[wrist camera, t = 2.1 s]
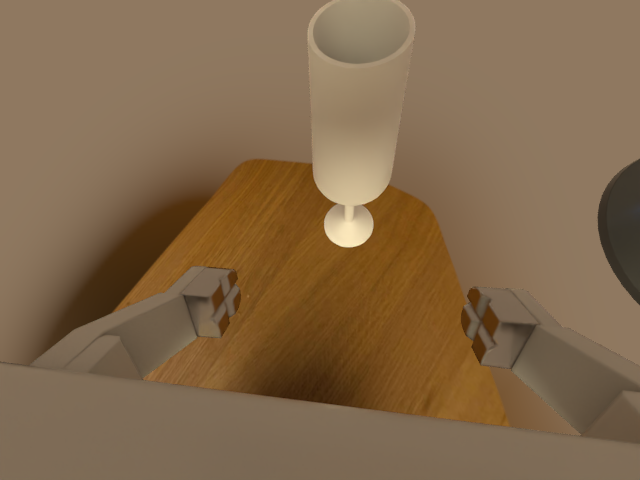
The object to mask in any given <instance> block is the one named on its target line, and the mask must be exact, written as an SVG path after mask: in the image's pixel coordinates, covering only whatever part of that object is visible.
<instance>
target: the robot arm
mask: <svg viewBox="0 0 640 480" xmlns="http://www.w3.org/2000/svg"><path fill="white" fill-rule="evenodd" d="M237 279H238V277H237V273H236V271H235V270H234V269H226V268H216V267H204V266H193V267H191V268H190V269H189V270H188V271H187V272H186V273H185V274H184V275H183V276H182V277H181V278H180V279H178V280H177V281H176V282H175V283H174V284H173V285H172V286H171V287H170V288H169V289H168V290H167V291H166V292H165V293H158V294H156V295H154V296H151V297H149V298H147V299H144V300H142V301H140V302H137V303H135V304H133V305H130V306H128V307H126V308H124V309H121V310H119V311H117V312H114V313H112V314H110V315H107V316H105V317H103V318H100V319H98V320H96V321H94V322H91V323H89V324H86V325H84V326H82V327H79V328H77V329H75V330H73V331H72V332H71V333H69V334H68V335H67V336H65V337H64V338H63V339H62V340H61V341H59V342H58V343H57V344H55V345H54V346H53V347H52V348H50V349H49V350H48V351H46V352H45V353H44V354H43V355H41V356H40V357H39V358H37V359H36V360H35V361H34V362H33V363H31V364H30V365H21V364H13V363H5V362H0V480H640V366H639V365H637V364H635V363H633V362H632V361H630V360H628V359H626V358H624V357H622V356H620V355H618V354H617V353H615V352H613V351H611V350H609V349H607V348H605V347H603V346H602V345H600V344H598V343H596V342H594V341H592V340H590V339H588V338H587V337H585V336H583V335H581V334H579V333H577V332H575V331H574V330H572V329H570V328H565V327H562V326H561V325H560V324H559V323H558V322H557V321H556V320H555V319H554V318H553V317H552V316H551V315H550V314H549V313H548V312H547V311H546V309H544V307H543V306H542V305H541V304H540V303H539V302H538V301H537V300H536V299H535V298H534V297H533V296H532V295H531V294H530V293H529V292H528V291H526V290H524V289H509V288H506V289H501V288H486V287H472V288H471V289H470V290H469V293H468V295H467V297H468V299H469V301H470V302H469V303H468V304H466V305H465V306H464V307H463V310H462V313H461V324H462V328H463V330H464V333H465V335H466V336H467V337H469V338H470V339H471V340H473V344H472V346H471V347H472V349H473V351H474V353H475V355H476V357H477V359H478V361H479V363H480V365H483V366H490V367H498V368H506V369H511V371H512V372H513V373H514V374H515V375H516V376H518V377H519V378H520V379H521V380H522V381H523V382H524V383H525V384H526V385H527V386H528V387H530V388H531V389H532V390H533V391H534V392H535V393H536V394H537V395H538V396H539V397H541V398H542V399H543V400H544V401H545V402H546V403H547V404H548V405H549V406H551V407H552V408H553V409H554V410H555V411H556V412H557V413H558V414H559V415H560V416H561V417H563V418H564V419H565V420H566V421H567V422H568V423H569V424H570V425H571V426H572V427H574V428H575V429H576V430H577V431H578V432H579V433H580V434H581V436H576V435H568V434H561V433H560V434H559V433H553V432H545V431H537V430H529V429H521V428H513V427H506V426H498V425H490V424H482V423H474V422H466V421H459V420H451V419H443V418H435V417H427V416H419V415H411V414H403V413H395V412H387V411H380V410H372V409H364V408H356V407H349V406H341V405H333V404H325V403H318V402H310V401H302V400H294V399H287V398H279V397H271V396H263V395H255V394H248V393H240V392H232V391H224V390H216V389H209V388H201V387H193V386H185V385H177V384H170V383H162V382H154V381H146V380H143V378H144V377H145V376H147V375H148V374H149V373H151V372H152V371H153V370H155V369H156V368H157V367H159V366H160V365H161V364H163V363H164V362H165V361H167V360H168V359H169V358H171V357H172V356H173V355H175V354H176V353H178V352H179V351H180V350H182V349H183V348H184V347H186V346H187V345H188V344H190V343H191V342H192V341H194V340H195V339H196V338H197V336H198V337H211V338H221V337H222V336H223V334H224V332H225V331H226V329H227V327H228V326H229V324H230V322H229V317H231V316H233V315H234V314H235V313H236V312H237V310H238V308H239V304H240V301H241V293H240V288H239V287H238V286H237V285H236V284H235V282H236V281H237Z"/></svg>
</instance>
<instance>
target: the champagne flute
mask: <svg viewBox="0 0 640 480" xmlns="http://www.w3.org/2000/svg"><path fill="white" fill-rule="evenodd" d="M415 29H416V25H415V19H414V17H413V15H412V13H411V11H410V10H409V9H408V8H407V7H406V6H405V5H404V4H403V3H401V2H400V1H399V0H332V1H330V2H329V3H327V4H325V5H324V6H323V7H322V8H320V9H319V10H318V11H317V12H316V14H315V15H314V16H313V18H312V20H311V21H310V23H309V27H308V61H309V83H310V84H309V86H310V109H311V132H312V158H313V176H314V180H315V183H316V185H317V187H318V189H319V190H320V191H321V192H322V194H323V195H324V196H326V197H327V198H328V199H329V200H331V201H333V202H335V203H338V204H336V205H335V206H333V207H332V208H331V209H330V210H329V211H328V213H327V215H326V217H325V221H324V228H325V232H326V234H327V236H328V237H329V239H330V240H331V241H332V242H334V243H335V244H337V245H339V246H342V247H355V246H358V245H361V244H362V243H364V242H365V241H366V240H367V239H368V238H369V237H370V235H371V233H372V230H373V219H372V216H371V214H370V212H369V211H368V210H367V208H365V207H364V206H363V205H362V204H366V203H368V202H370V201H372V200H374V199H375V198H377V197H378V196H379V195H380V194H381V193H382V192H383V191H384V190H385V189H386V187H387V185H388V184H389V181H390V179H391V174H392V168H393V162H394V156H395V150H396V144H397V138H398V132H399V126H400V120H401V114H402V108H403V102H404V96H405V90H406V84H407V78H408V72H409V66H410V60H411V54H412V48H413V42H414V36H415Z"/></svg>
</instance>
